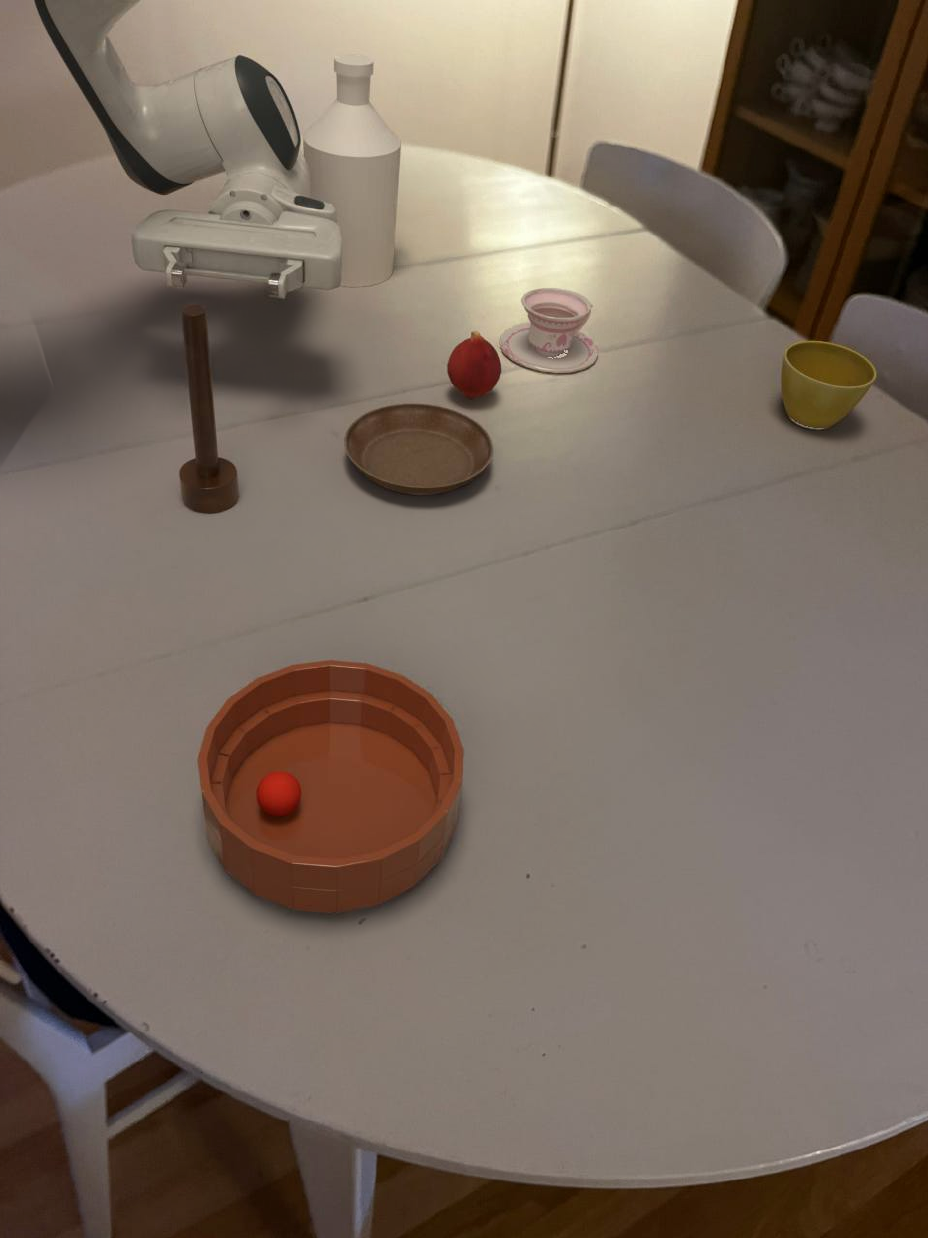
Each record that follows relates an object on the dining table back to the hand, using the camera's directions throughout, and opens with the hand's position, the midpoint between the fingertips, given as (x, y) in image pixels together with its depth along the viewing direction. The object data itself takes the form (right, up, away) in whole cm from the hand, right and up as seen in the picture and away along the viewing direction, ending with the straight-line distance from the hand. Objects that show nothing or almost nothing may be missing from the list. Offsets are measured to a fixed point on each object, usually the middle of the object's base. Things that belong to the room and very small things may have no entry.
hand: (225, 284), depth 95 cm
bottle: (+7, +15, +40) cm, 44 cm away
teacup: (+32, +1, +29) cm, 43 cm away
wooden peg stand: (-2, -19, +1) cm, 20 cm away
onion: (+23, -7, +19) cm, 30 cm away
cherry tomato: (+10, -43, -26) cm, 51 cm away
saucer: (+18, -16, +8) cm, 25 cm away
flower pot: (+62, -8, +22) cm, 66 cm away
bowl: (+13, -44, -24) cm, 52 cm away
